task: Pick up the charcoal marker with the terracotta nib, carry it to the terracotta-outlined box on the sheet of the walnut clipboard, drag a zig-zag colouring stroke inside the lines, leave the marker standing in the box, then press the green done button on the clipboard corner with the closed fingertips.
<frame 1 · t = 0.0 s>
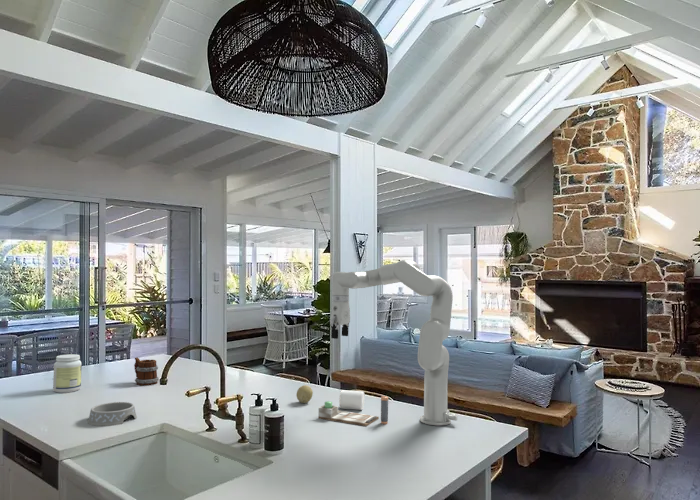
hand: (339, 337, 237), 31 cm above the counter, fingers open, 9 cm apart
mug: (352, 408, 236), on the counter
marker: (384, 423, 213), on the counter
mug 2: (144, 383, 278), on the counter
dog bowl: (112, 420, 213), on the counter
supplement tub: (67, 390, 260), on the counter
done button: (328, 406, 220), point 5 cm above the counter, slide at 0.0 cm
clipboard: (348, 418, 219), on the counter
potato: (304, 403, 242), on the counter
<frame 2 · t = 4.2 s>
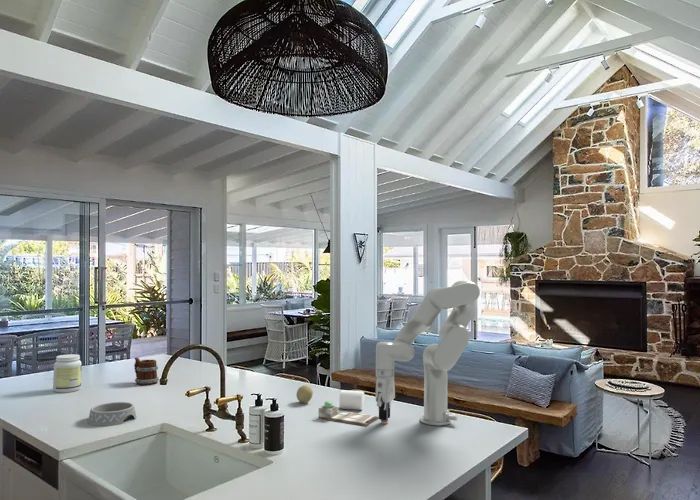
hand: (384, 418, 213), 2 cm above the counter, fingers closed on marker, 2 cm apart
marker: (384, 423, 213), on the counter, touching gripper
everything else where it was.
when the fingers open (4 cm above the counter, at t = 9.2 s): marker stays where it is, resting on clipboard.
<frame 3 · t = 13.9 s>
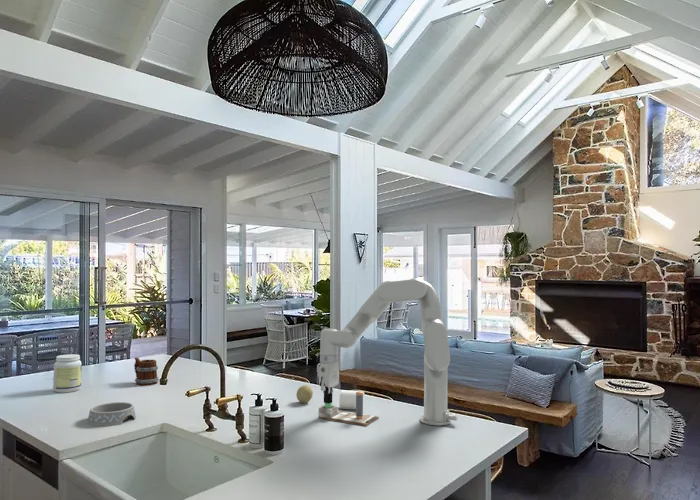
hand: (327, 402, 220), 6 cm above the counter, fingers closed
marker: (359, 417, 216), point 1 cm above the counter, touching clipboard
done button: (328, 406, 220), point 5 cm above the counter, slide at 0.1 cm, touching gripper
everything else where it was.
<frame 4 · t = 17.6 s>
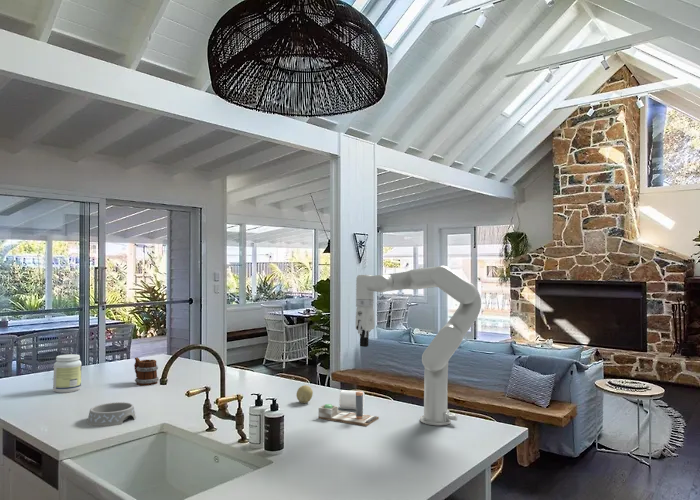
hand: (364, 346, 225), 29 cm above the counter, fingers closed
done button: (328, 408, 220), point 4 cm above the counter, slide at 1.1 cm
everything else where it was.
at the end: marker inside the target area (1.9 cm from its centre), point 1.0 cm above the counter; the gripper is holding nothing; done button slide at 1.1 cm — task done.
